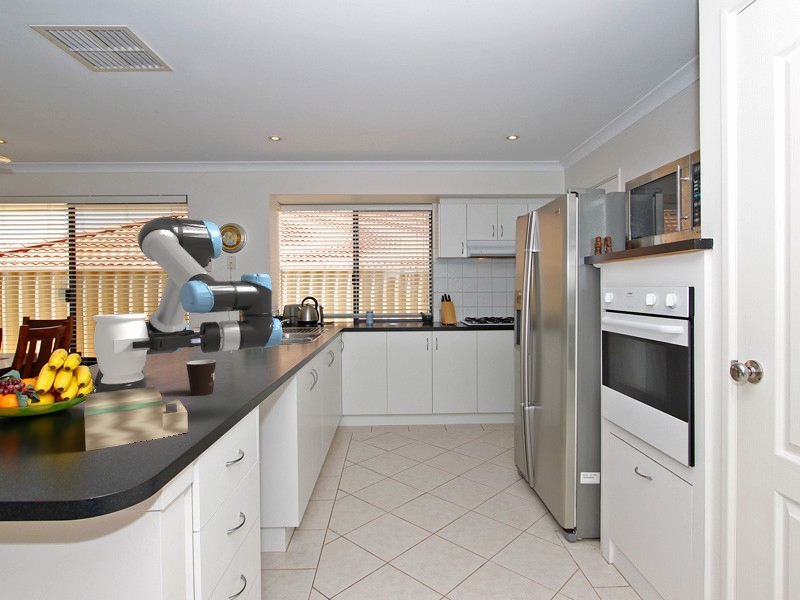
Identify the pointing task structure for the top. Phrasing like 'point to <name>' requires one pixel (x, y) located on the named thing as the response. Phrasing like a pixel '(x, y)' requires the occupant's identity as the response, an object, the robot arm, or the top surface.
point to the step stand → (131, 417)
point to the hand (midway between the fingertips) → (113, 343)
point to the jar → (119, 363)
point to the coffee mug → (201, 376)
